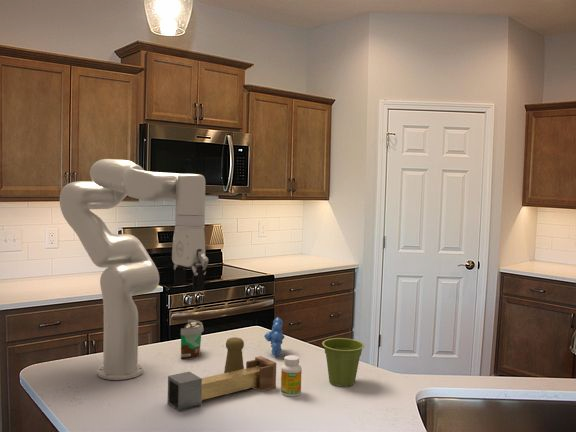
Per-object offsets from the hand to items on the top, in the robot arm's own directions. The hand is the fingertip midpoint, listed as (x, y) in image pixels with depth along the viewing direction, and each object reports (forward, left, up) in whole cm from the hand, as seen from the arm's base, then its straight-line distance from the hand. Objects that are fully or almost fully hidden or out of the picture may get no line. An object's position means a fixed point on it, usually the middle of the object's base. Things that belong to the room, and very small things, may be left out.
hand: (188, 287), depth 147 cm
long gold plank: (+6, +9, -28) cm, 30 cm away
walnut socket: (+6, +20, -28) cm, 35 cm away
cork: (-5, +18, -28) cm, 34 cm away
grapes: (-15, +40, -28) cm, 51 cm away
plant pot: (+17, +40, -28) cm, 52 cm away
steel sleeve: (+6, -4, -28) cm, 29 cm away
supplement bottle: (+15, +23, -28) cm, 40 cm away
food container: (-29, +18, -28) cm, 44 cm away
